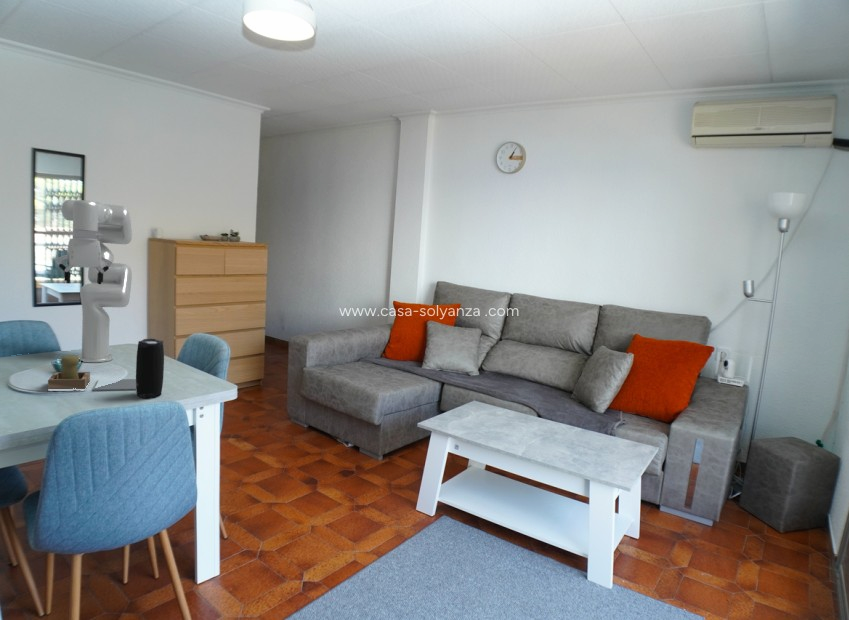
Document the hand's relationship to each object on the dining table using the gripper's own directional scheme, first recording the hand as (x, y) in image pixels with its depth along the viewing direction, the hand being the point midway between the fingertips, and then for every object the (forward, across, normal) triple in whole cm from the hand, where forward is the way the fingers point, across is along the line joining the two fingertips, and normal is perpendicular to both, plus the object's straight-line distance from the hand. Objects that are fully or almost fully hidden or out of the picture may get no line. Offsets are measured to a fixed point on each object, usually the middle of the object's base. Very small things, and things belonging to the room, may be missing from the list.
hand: (83, 283), depth 194 cm
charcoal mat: (+35, -8, +15) cm, 39 cm away
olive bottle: (+35, +6, +12) cm, 37 cm away
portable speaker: (+36, -15, +31) cm, 49 cm away
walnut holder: (+35, +6, +12) cm, 37 cm away
